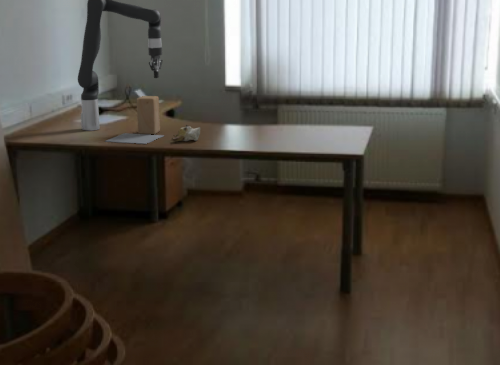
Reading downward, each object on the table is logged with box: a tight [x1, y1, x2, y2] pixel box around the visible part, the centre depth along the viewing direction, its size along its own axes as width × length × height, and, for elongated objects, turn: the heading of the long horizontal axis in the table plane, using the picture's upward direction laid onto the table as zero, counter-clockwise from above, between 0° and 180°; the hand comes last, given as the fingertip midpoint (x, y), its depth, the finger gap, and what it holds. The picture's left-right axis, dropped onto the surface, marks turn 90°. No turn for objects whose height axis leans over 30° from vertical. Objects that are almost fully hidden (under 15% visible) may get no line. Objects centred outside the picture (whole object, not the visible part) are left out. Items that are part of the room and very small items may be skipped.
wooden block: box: [136, 95, 161, 135], centre depth 431 cm, size 10×10×20 cm
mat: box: [104, 132, 165, 145], centre depth 418 cm, size 24×22×1 cm
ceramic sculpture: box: [171, 124, 201, 142], centre depth 411 cm, size 11×9×15 cm
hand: (156, 77), depth 438 cm, fingers closed
